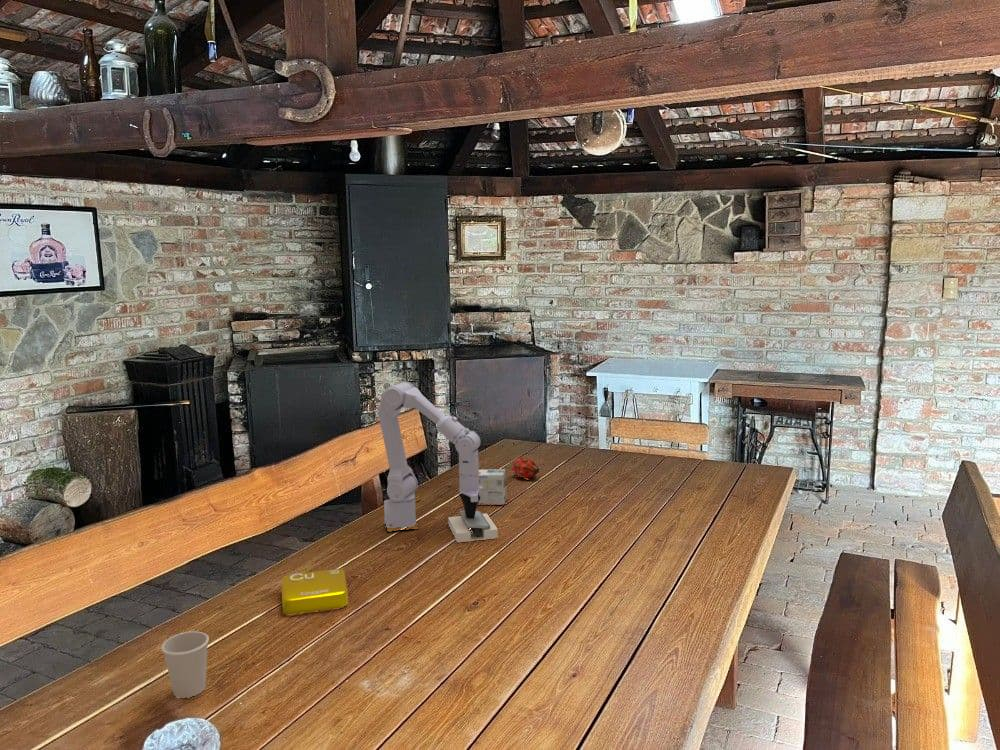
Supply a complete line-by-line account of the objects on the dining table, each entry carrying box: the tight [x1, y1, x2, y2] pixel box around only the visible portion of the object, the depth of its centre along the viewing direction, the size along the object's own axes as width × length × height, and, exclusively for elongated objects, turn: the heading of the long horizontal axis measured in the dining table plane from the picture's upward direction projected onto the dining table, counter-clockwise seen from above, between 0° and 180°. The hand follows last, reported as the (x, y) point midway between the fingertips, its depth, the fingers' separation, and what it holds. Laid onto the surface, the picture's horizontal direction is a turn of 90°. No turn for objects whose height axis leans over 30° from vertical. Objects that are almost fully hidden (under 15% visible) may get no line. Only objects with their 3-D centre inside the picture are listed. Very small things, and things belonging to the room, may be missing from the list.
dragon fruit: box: [510, 456, 540, 479], centre depth 275 cm, size 8×8×12 cm
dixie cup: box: [160, 630, 210, 698], centre depth 143 cm, size 8×8×10 cm
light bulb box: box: [478, 468, 507, 505], centre depth 248 cm, size 11×7×11 cm, turn 84°
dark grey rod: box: [471, 528, 482, 537], centre depth 222 cm, size 2×10×2 cm
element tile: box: [281, 568, 349, 614], centre depth 181 cm, size 15×15×5 cm
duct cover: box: [459, 509, 491, 529], centre depth 222 cm, size 6×13×1 cm, turn 14°
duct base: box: [447, 513, 499, 542], centre depth 222 cm, size 12×14×3 cm
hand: (470, 518), depth 222 cm, fingers closed, pressing on duct cover
